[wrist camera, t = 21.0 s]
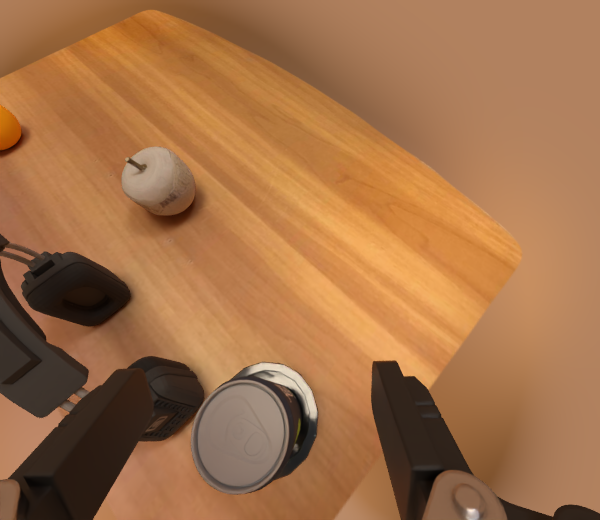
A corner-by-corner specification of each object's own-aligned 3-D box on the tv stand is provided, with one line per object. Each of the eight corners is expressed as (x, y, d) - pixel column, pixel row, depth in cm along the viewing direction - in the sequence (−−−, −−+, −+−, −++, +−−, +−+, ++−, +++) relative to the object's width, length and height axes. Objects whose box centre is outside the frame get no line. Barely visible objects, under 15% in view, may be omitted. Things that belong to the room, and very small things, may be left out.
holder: (331, 394, 31) (335, 394, 26) (289, 487, 28) (284, 507, 23) (259, 352, 34) (249, 344, 29) (212, 433, 30) (192, 441, 25)
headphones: (216, 397, 32) (87, 401, 14) (169, 445, 30) (-50, 520, 12) (117, 270, 39) (-53, 163, 21) (74, 302, 37) (-150, 215, 19)
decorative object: (215, 194, 44) (190, 142, 35) (178, 238, 41) (140, 193, 32) (171, 173, 46) (137, 119, 37) (133, 213, 43) (86, 165, 34)
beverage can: (314, 408, 30) (314, 418, 17) (279, 466, 28) (246, 531, 15) (267, 371, 32) (234, 354, 18) (231, 424, 30) (163, 448, 16)
